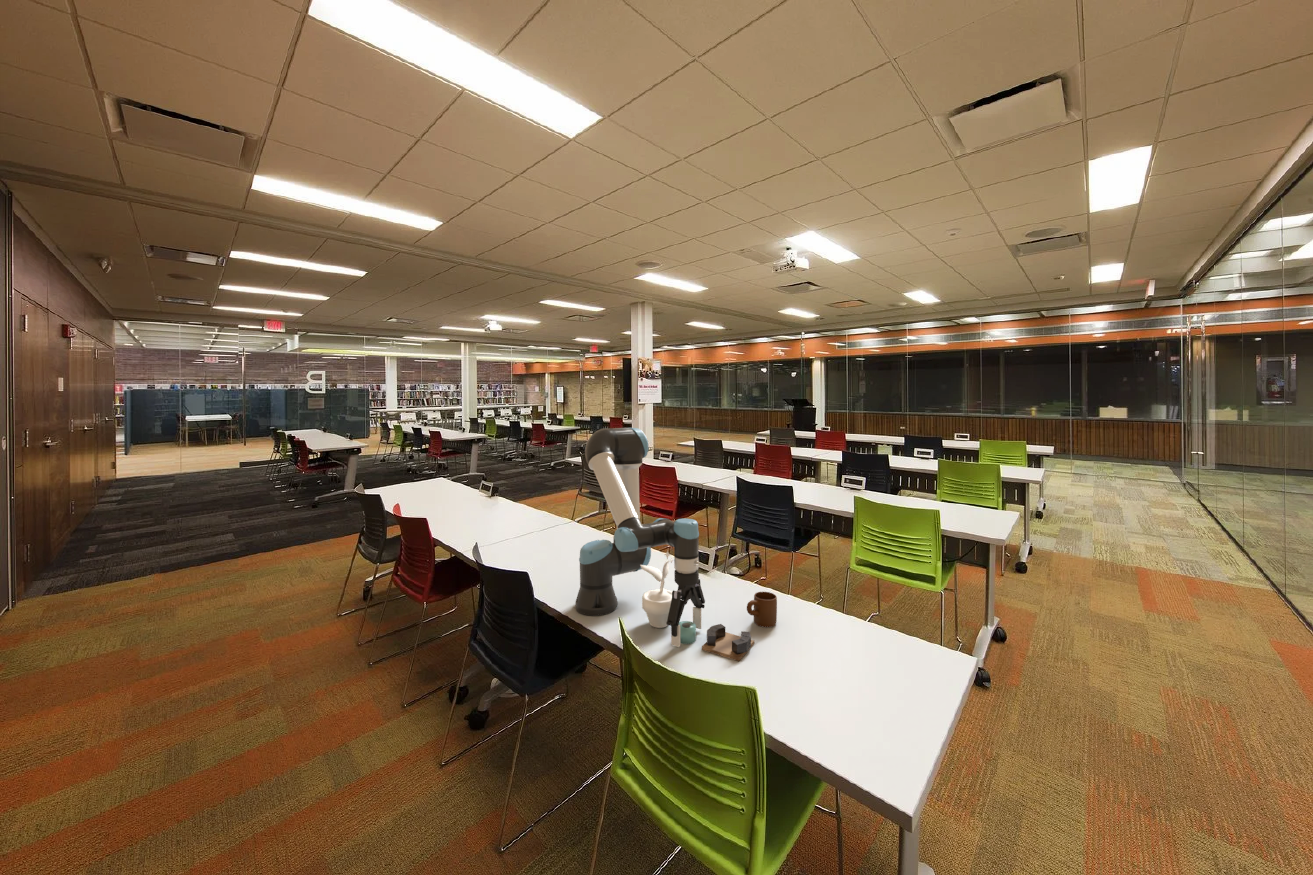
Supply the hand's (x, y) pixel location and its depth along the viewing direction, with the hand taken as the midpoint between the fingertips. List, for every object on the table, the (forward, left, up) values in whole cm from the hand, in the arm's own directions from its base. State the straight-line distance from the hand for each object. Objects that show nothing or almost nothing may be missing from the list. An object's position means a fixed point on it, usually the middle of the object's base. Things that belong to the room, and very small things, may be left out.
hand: (686, 636), depth 148 cm
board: (+13, +3, -1) cm, 13 cm away
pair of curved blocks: (+13, +3, -1) cm, 13 cm away
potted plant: (-13, +4, -1) cm, 14 cm away
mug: (+16, +22, -1) cm, 27 cm away
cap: (0, 0, -1) cm, 1 cm away
